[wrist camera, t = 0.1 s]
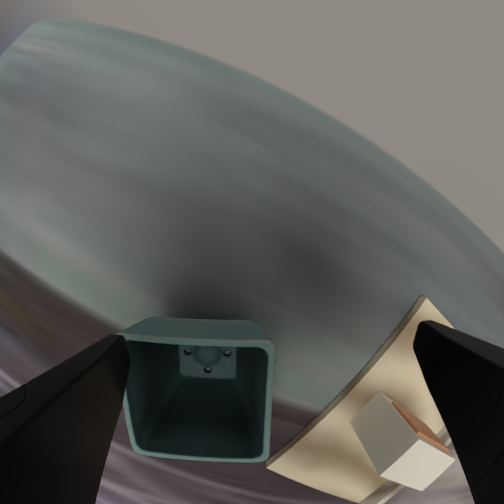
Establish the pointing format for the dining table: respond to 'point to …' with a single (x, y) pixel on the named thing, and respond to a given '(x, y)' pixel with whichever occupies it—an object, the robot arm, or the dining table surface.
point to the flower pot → (199, 389)
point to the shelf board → (348, 405)
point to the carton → (400, 443)
